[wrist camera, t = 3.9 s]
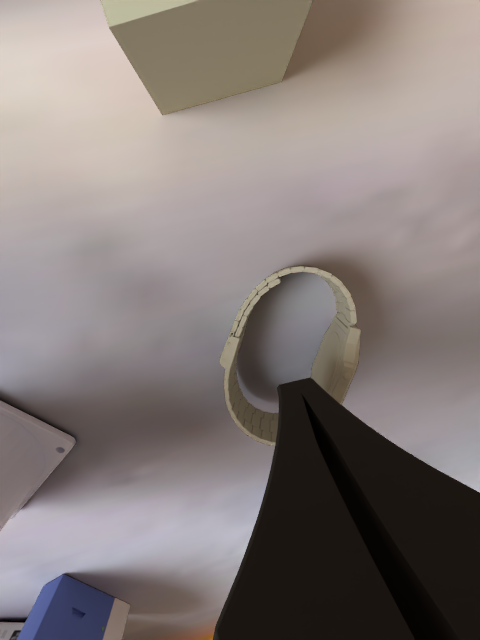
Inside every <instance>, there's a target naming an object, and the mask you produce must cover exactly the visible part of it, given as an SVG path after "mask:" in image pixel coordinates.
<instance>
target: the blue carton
mask: <svg viewBox="0 0 480 640" xmlns="http://www.w3.org/2000/svg"><path fill="white" fill-rule="evenodd" d="M129 609H130V605H129V604H127V603H125V602H123V601H121V600H119V599H117V598H114V597H112V596H110V595H108V594H106V593H104V592H101V591H99V590H97V589H95V588H93V587H90V586H88V585H86V584H84V583H82V582H80V581H77V580H75V579H73V578H71V577H69V576H67V575H64V574H63V575H61V576H60V577H58V578H56V579H55V580H53V581H51V582H50V583H48V584H46V585H45V586H43V588H42V590H41V592H40V594H39V596H38V598H37V600H36V602H35V604H34V606H33V608H32V610H31V612H30V614H29V616H28V618H27V620H26V622H25V624H24V626H23V628H22V630H21V632H20V634H19V636H18V638H17V640H122V637H123V633H124V629H125V625H126V621H127V617H128V613H129Z"/></svg>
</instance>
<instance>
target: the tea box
mask: <svg viewBox="0 0 480 640" xmlns="http://www.w3.org/2000/svg"><path fill="white" fill-rule="evenodd" d="M24 624H25V623H17V622H0V640H17V638H18V636H19V634H20V632H21V630H22V628H23V626H24Z"/></svg>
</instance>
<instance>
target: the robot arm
mask: <svg viewBox="0 0 480 640" xmlns="http://www.w3.org/2000/svg"><path fill="white" fill-rule="evenodd" d="M277 390H278V395H279V417H278V430H277V437H276V443H275V450H274V456H273V461H272V466H271V470H270V474H269V479H268V483H267V486H266V490H265V494H264V497H263V501H262V504H261V508H260V511H259V514H258V517H257V521H256V523H255V526H254V529H253V532H252V535H251V538H250V541H249V543H248V546H247V549H246V552H245V555H244V558H243V560H242V563H241V565H240V568H239V571H238V573H237V576H236V578H235V580H234V583H233V585H232V588H231V590H230V592H229V595H228V597H227V600H226V602H225V605H224V607H223V609H222V612H221V614H220V617H219V619H218V621H217V624H216V627H215V632H214V637H213V640H480V493H479V492H477V491H476V490H474V489H472V488H470V487H468V486H466V485H464V484H463V483H461V482H459V481H457V480H455V479H453V478H451V477H450V476H448V475H446V474H444V473H442V472H440V471H438V470H437V469H435V468H433V467H431V466H430V465H428V464H426V463H425V462H423V461H421V460H419V459H418V458H416V457H414V456H413V455H411V454H409V453H408V452H406V451H405V450H403V449H402V448H400V447H398V446H397V445H395V444H394V443H392V442H391V441H389V440H388V439H386V438H385V437H383V436H382V435H380V434H379V433H377V432H376V431H375V430H373V429H372V428H371V427H369V426H368V425H366V424H365V423H364V422H362V421H361V420H360V419H358V418H357V417H356V416H354V415H353V414H352V413H351V412H350V411H348V410H347V409H346V408H345V407H343V406H342V405H341V404H340V403H338V402H337V401H336V400H335V399H334V398H333V397H332V396H330V395H329V394H328V393H327V392H326V391H325V390H324V389H323V388H322V387H321V386H320V385H318V384H317V383H316V382H315V381H314V380H313V379H312V378H307V379H302V380H298V381H294V382H289V383H285V384H281V385H279V386H278V387H277ZM75 443H76V441H75V439H74V438H73V437H72V436H70V435H68V434H66V433H64V432H62V431H60V430H58V429H56V428H54V427H52V426H50V425H48V424H46V423H44V422H42V421H40V420H38V419H36V418H34V417H32V416H30V415H28V414H26V413H24V412H22V411H20V410H18V409H16V408H14V407H12V406H10V405H8V404H6V403H4V402H2V401H0V531H1V529H2V528H3V527H4V525H5V524H6V523H7V521H8V520H9V519H12V518H13V517H14V516H15V515H16V514H17V513H18V512H19V510H20V509H21V508H22V507H23V506H24V505H25V503H26V502H27V501H28V500H29V499H30V497H31V496H32V495H33V494H34V493H35V492H36V490H37V489H38V488H39V487H40V486H41V485H42V483H43V482H44V481H45V480H46V479H47V477H48V476H49V475H50V474H51V473H52V472H53V470H54V469H55V468H56V467H57V466H58V464H59V463H60V462H61V461H62V460H63V459H64V457H65V456H66V455H67V454H68V453H69V452H70V450H71V449H72V448H73V446H74V445H75Z"/></svg>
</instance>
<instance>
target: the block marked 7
mask: <svg viewBox="0 0 480 640" xmlns="http://www.w3.org/2000/svg"><path fill="white" fill-rule="evenodd" d="M100 1H101V4H102V7H103V10H104V13H105V17H106V20H107V23H108V26H109V28H110V30H111V31H112V33H113V35H114V36H115V38H116V40H117V41H118V43H119V45H120V46H121V48H122V50H123V51H124V53H125V55H126V56H127V58H128V59H129V61H130V63H131V64H132V66H133V68H134V69H135V71H136V73H137V74H138V76H139V78H140V79H141V81H142V83H143V84H144V86H145V87H146V89H147V91H148V92H149V94H150V96H151V97H152V99H153V101H154V102H155V104H156V106H157V107H158V109H159V111H160V112H161V114H162V115H164V114H168V113H172V112H175V111H179V110H182V109H186V108H190V107H193V106H197V105H200V104H204V103H208V102H211V101H215V100H218V99H222V98H225V97H229V96H233V95H236V94H240V93H243V92H247V91H251V90H254V89H258V88H261V87H265V86H269V85H272V84H276V83H279V82H282V79H283V77H284V74H285V72H286V69H287V66H288V64H289V61H290V59H291V56H292V53H293V51H294V48H295V46H296V43H297V41H298V38H299V35H300V33H301V30H302V28H303V25H304V22H305V20H306V17H307V15H308V12H309V10H310V7H311V4H312V2H313V0H100Z"/></svg>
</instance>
